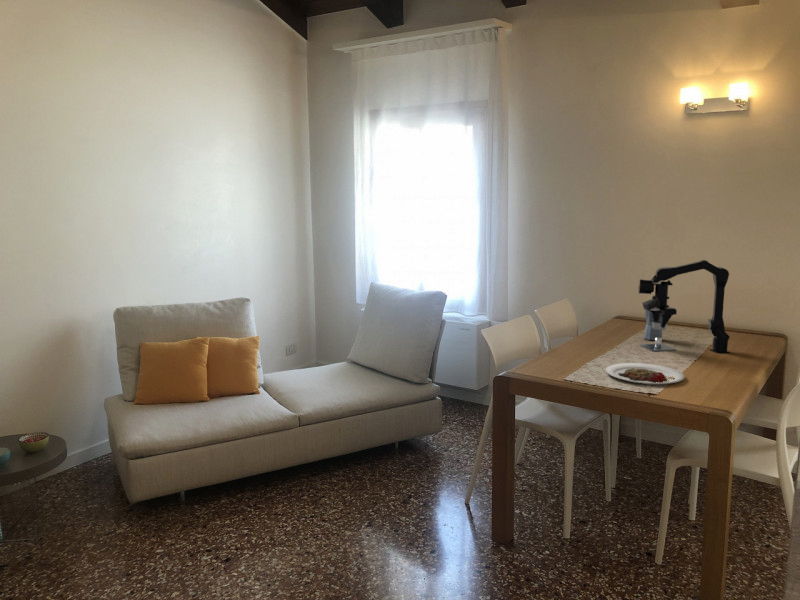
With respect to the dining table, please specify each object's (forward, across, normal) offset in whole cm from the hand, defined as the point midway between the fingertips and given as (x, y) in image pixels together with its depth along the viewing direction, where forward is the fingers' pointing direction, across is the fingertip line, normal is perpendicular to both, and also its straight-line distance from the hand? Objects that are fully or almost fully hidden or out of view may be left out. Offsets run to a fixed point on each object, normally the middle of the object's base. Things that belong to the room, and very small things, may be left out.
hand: (659, 326), depth 307 cm
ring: (+1, 0, 0) cm, 1 cm away
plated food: (+11, +45, -32) cm, 56 cm away
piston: (+11, 0, 0) cm, 11 cm away
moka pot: (+11, -18, +8) cm, 23 cm away
